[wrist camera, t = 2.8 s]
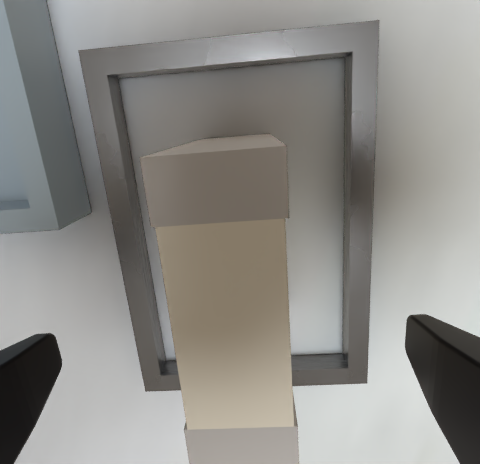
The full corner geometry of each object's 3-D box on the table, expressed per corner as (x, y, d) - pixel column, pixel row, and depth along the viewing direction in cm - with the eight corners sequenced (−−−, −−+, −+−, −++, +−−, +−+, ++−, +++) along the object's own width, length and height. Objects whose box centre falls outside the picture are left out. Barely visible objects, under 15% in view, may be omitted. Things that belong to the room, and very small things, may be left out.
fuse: (219, 313, 19) (190, 471, 10) (200, 139, 16) (139, 157, 8) (278, 310, 19) (299, 469, 10) (269, 133, 16) (286, 146, 7)
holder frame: (151, 376, 20) (145, 391, 19) (91, 55, 15) (78, 50, 14) (360, 368, 20) (367, 383, 18) (369, 28, 15) (379, 20, 13)
